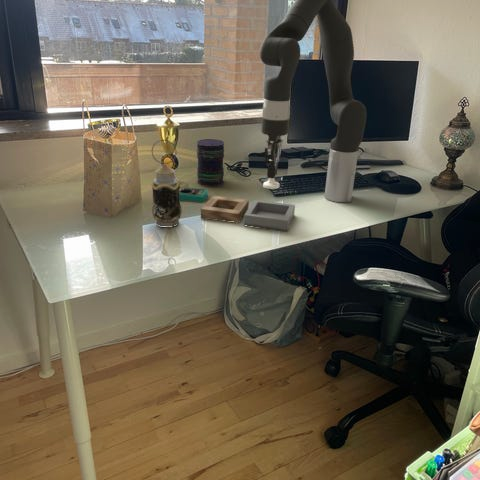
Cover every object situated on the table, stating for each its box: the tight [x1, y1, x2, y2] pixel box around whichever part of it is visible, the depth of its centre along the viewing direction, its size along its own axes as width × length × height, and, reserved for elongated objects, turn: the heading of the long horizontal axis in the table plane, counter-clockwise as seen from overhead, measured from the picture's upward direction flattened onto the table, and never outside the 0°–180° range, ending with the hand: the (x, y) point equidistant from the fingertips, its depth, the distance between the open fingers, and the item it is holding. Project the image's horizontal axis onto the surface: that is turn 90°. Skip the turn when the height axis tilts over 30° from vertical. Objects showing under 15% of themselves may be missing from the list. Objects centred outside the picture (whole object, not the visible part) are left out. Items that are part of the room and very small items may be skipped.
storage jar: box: [196, 138, 225, 187], centre depth 168 cm, size 10×10×15 cm
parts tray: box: [243, 199, 296, 233], centre depth 139 cm, size 13×13×4 cm
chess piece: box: [262, 160, 281, 190], centre depth 133 cm, size 5×5×10 cm
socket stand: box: [200, 195, 250, 223], centre depth 144 cm, size 12×12×3 cm
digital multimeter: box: [179, 187, 208, 203], centre depth 156 cm, size 7×15×3 cm, turn 80°
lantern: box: [151, 139, 183, 226], centre depth 131 cm, size 9×8×25 cm
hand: (272, 176), depth 134 cm, fingers closed on chess piece
